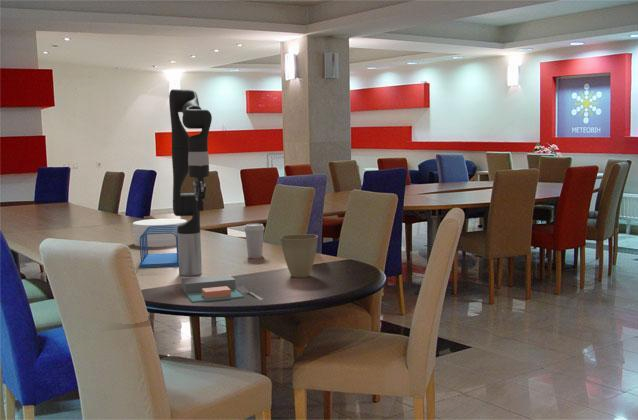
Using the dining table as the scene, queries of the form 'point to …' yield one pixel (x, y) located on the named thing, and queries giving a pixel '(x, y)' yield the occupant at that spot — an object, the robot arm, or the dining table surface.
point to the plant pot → (299, 253)
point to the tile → (216, 292)
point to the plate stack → (156, 239)
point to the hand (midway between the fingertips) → (200, 210)
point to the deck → (206, 283)
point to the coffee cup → (254, 239)
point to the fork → (249, 292)
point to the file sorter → (158, 259)
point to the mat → (199, 298)
